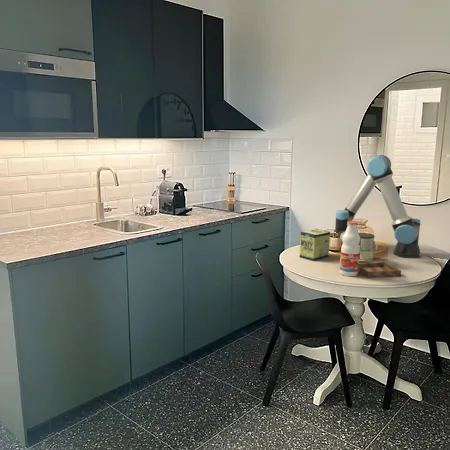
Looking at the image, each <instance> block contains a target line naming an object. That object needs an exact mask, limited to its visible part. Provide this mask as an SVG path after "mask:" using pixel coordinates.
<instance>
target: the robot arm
mask: <svg viewBox="0 0 450 450" xmlns="http://www.w3.org/2000/svg"><path fill="white" fill-rule="evenodd" d="M366 171H367V175H366V176H365V178H364V180H362V182H361V184H360V185H359V187H358V189H357V190H356V192H355V193H354V195H353V197H352V198H351V199H350V200H349V202H348V203H347V205H346V206H345V207H344V209H339V210H336V213H335V225H334V226H335V227H334V228H335V229H333V230H332V232H333V231H334V232H336V233H338V234H339V235H340V239H341V242H340V243H342V244H343V241H342V236H343V235H344V233H345V231H346V229H347V227H348V225H347V223H348V221H353V220H354V219H355V216H356V214H357V213H358V212H359V210H360V209H361V207H362V206H363V204H364V203H365V201H366V200H367V198H368V197H369V196H370V194H371V192H373V190H374V188H375V186H376V185H377V186H378V189H379V191H380V193H381V197H382V198H383V200H384V202H385V205H386V207H387V210H388V212H389V214H390V217H391V219H392V223H391V226H392V229H393V232H394V238H395V240H396V241H397V243H396V245H395V247H394V249H393V255H394V256H398V257H401V258H405V259H407V258H408V259H414V258H415V259H417V258H420V257H421V251H420V247H419V238H420V228H421V219H419V218H413V217H412V216H410V215H408V213H407V211H406V207H405V206H404V204H403V203H404V202H403V201H402V199H401V196H400V194H399V192H398V188H397V187H396V185H395V182H394V180H393V175H394V172H393V170H392V162H391V159H390V157H388V156H387V155H383V154H378V155H374V156H372V157H370V158H369V160H368V161H367V163H366ZM375 242H376V241H374V245H373V250H378V244H376V243H375ZM359 247H360V246H359Z"/></svg>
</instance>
